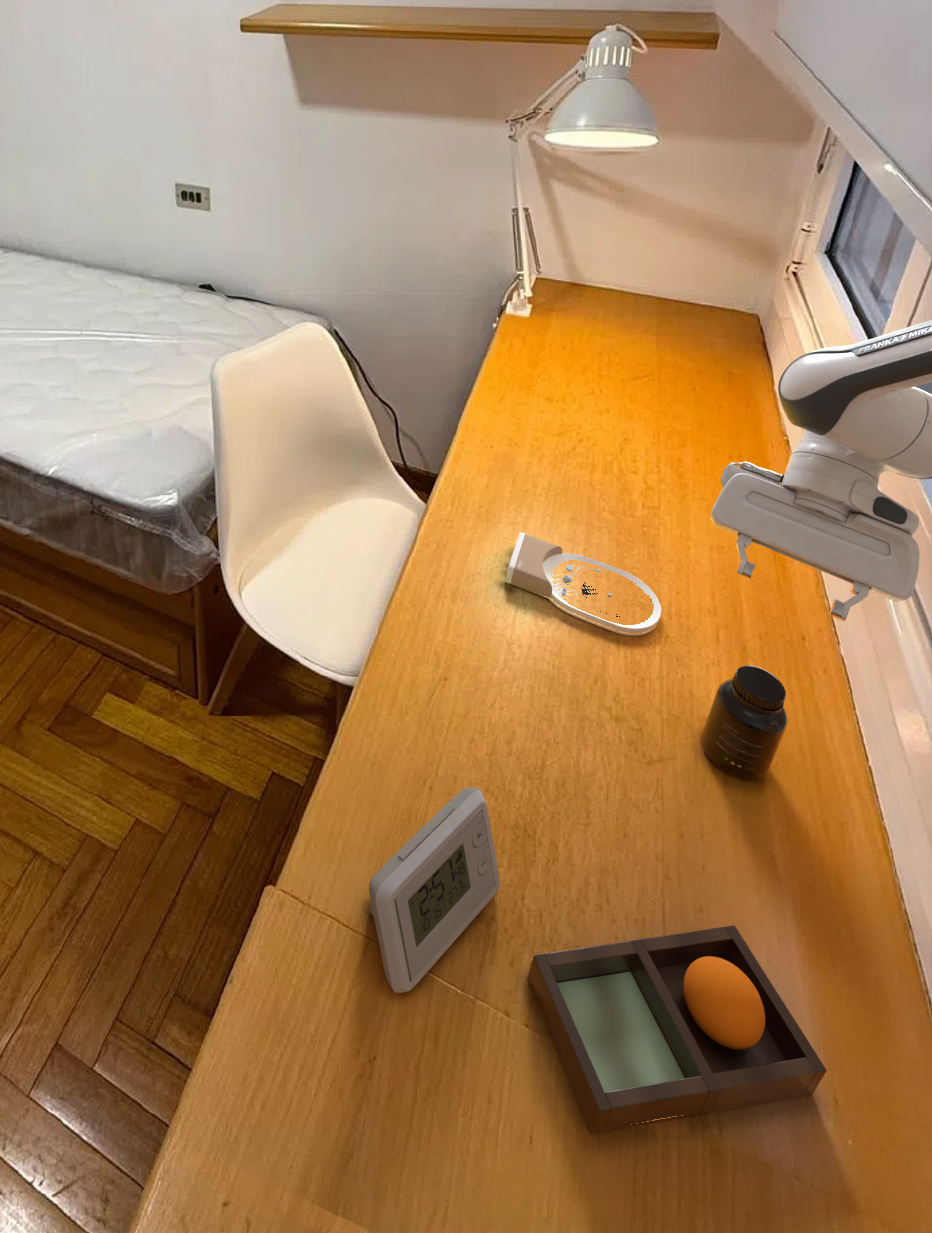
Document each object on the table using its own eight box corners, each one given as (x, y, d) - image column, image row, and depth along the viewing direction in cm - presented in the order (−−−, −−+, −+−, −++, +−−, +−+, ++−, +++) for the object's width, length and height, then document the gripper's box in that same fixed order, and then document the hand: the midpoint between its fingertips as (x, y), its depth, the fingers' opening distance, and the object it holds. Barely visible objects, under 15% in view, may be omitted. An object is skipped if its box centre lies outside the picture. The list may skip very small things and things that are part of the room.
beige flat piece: (522, 525, 127) (666, 577, 118) (518, 540, 128) (660, 593, 119) (506, 573, 118) (661, 633, 108) (502, 589, 119) (655, 650, 110)
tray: (723, 948, 78) (734, 924, 76) (813, 1094, 68) (827, 1070, 67) (526, 978, 75) (533, 954, 74) (590, 1134, 66) (600, 1110, 64)
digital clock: (390, 1009, 73) (404, 939, 69) (333, 907, 80) (342, 838, 76) (523, 920, 80) (543, 851, 76) (459, 833, 87) (473, 766, 83)
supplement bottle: (705, 717, 100) (731, 646, 96) (770, 751, 96) (801, 678, 92) (694, 758, 95) (721, 685, 91) (762, 796, 91) (794, 721, 87)
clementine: (721, 975, 75) (739, 937, 73) (770, 1059, 70) (792, 1020, 67) (661, 984, 74) (677, 946, 72) (706, 1070, 69) (725, 1031, 67)
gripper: (730, 449, 104) (692, 549, 101) (937, 524, 92) (900, 641, 89) (728, 461, 109) (691, 557, 106) (925, 535, 97) (889, 645, 94)
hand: (788, 596), depth 97 cm, fingers open, 8 cm apart
